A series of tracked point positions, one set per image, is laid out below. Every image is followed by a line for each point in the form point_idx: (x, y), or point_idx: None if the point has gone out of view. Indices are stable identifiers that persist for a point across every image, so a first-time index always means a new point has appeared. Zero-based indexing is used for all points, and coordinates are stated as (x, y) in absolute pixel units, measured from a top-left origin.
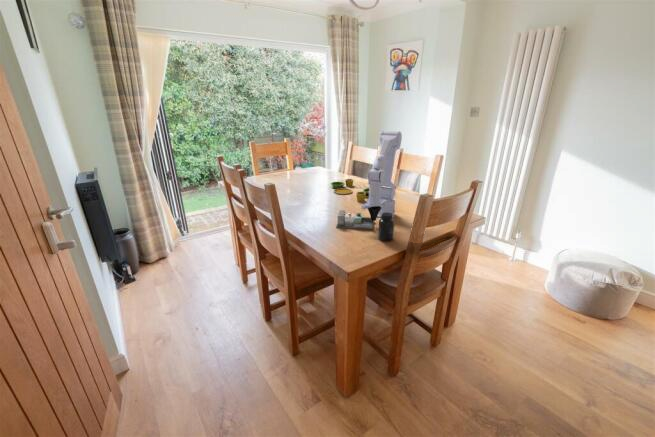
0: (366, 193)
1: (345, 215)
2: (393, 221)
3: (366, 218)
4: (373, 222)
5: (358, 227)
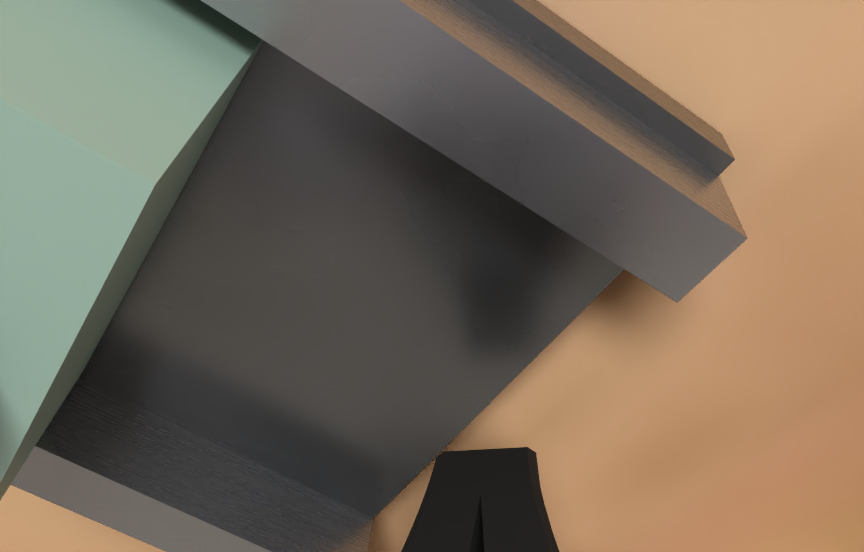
0: None
1: None
2: None
3: (440, 136)
4: (581, 311)
5: None
